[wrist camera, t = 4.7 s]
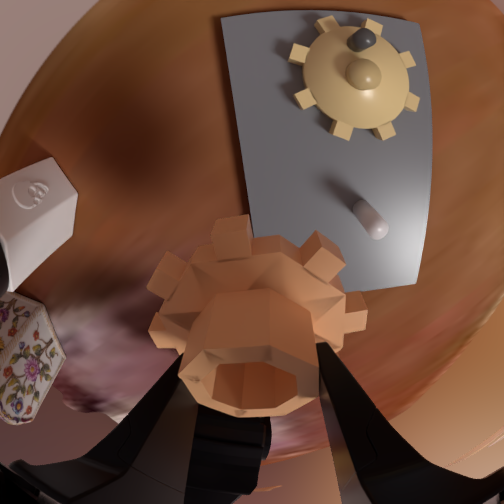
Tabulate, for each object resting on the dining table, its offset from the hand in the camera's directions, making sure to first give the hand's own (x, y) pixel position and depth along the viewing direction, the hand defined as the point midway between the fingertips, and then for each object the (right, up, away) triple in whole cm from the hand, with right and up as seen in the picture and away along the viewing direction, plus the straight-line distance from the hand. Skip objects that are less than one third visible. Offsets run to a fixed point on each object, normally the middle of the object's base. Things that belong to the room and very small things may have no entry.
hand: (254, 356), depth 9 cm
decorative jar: (-33, -7, +20) cm, 39 cm away
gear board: (+6, +10, +8) cm, 15 cm away
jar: (-19, +9, +11) cm, 24 cm away
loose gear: (0, +1, +2) cm, 2 cm away
